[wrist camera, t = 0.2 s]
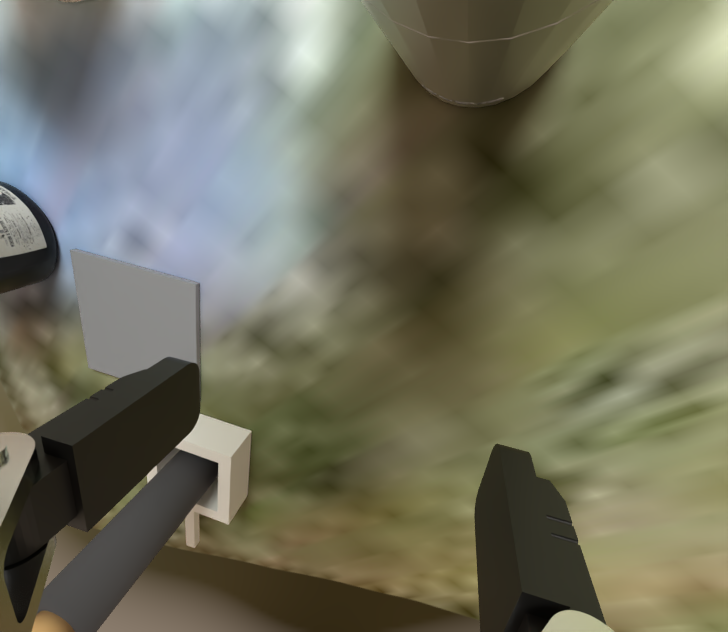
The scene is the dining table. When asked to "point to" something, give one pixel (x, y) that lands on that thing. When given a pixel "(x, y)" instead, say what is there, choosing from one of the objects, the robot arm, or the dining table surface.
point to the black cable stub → (123, 548)
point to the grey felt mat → (134, 314)
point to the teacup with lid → (70, 0)
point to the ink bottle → (23, 241)
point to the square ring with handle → (233, 470)
